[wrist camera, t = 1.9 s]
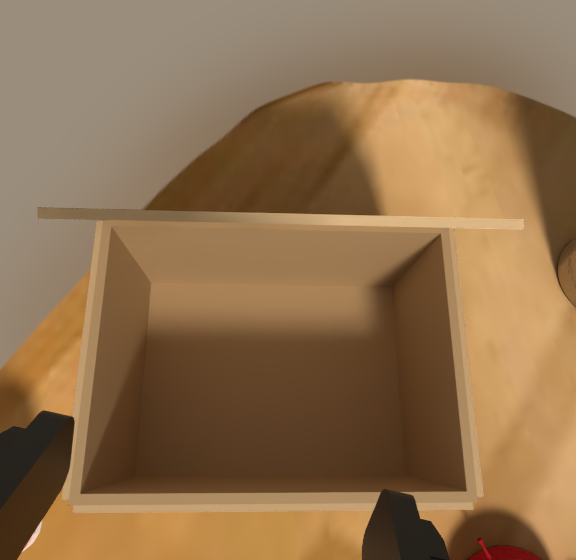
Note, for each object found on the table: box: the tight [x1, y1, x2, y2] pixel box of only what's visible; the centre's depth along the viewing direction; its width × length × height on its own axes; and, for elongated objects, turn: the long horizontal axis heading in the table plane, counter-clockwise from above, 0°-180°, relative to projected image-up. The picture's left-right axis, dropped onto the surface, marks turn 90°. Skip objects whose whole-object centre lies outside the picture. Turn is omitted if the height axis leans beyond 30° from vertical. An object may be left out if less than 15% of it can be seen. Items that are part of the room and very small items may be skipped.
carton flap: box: [38, 207, 524, 230], centre depth 29 cm, size 23×11×1 cm
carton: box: [62, 220, 484, 513], centre depth 38 cm, size 25×18×14 cm
